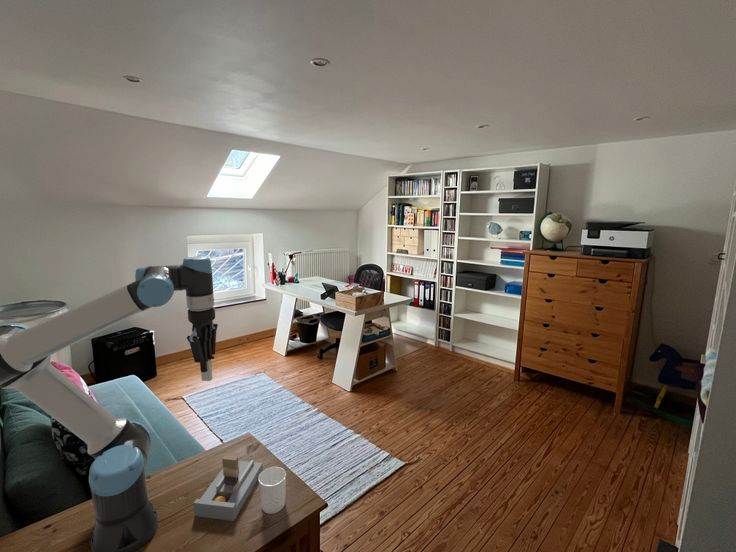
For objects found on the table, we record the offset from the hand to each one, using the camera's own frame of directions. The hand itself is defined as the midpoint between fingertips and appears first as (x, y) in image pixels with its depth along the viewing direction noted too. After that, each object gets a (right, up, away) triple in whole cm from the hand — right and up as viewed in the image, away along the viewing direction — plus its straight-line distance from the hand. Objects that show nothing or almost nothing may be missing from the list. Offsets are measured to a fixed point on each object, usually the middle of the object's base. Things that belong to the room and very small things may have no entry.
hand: (207, 379), depth 114 cm
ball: (+7, -34, -7) cm, 36 cm away
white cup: (+22, -37, -5) cm, 43 cm away
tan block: (+8, -32, -1) cm, 33 cm away
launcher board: (+8, -35, 0) cm, 36 cm away
